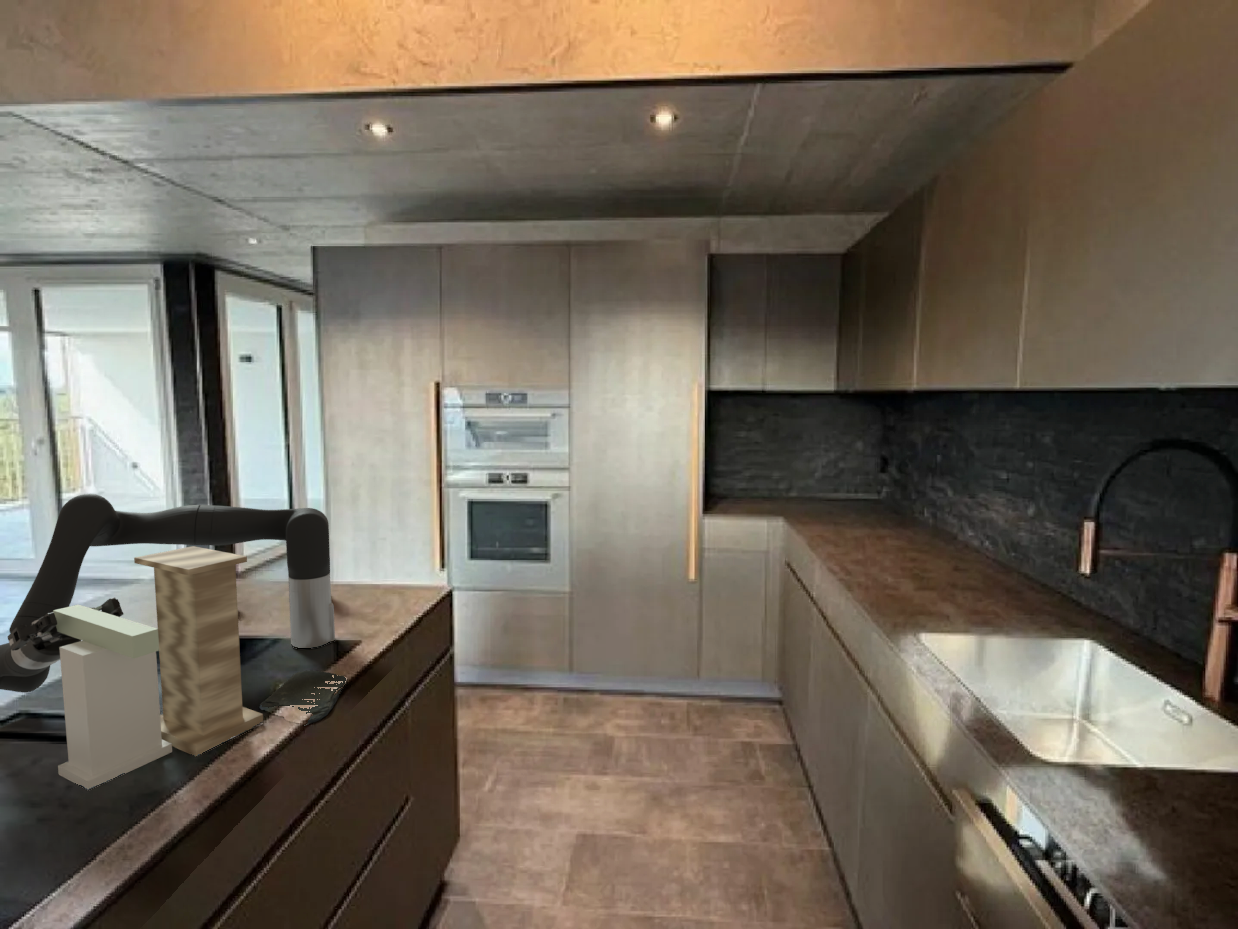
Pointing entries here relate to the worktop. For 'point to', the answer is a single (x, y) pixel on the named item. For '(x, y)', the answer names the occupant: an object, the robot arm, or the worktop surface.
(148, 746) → the pedestal
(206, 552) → the stand
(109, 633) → the bar
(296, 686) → the stone slab
